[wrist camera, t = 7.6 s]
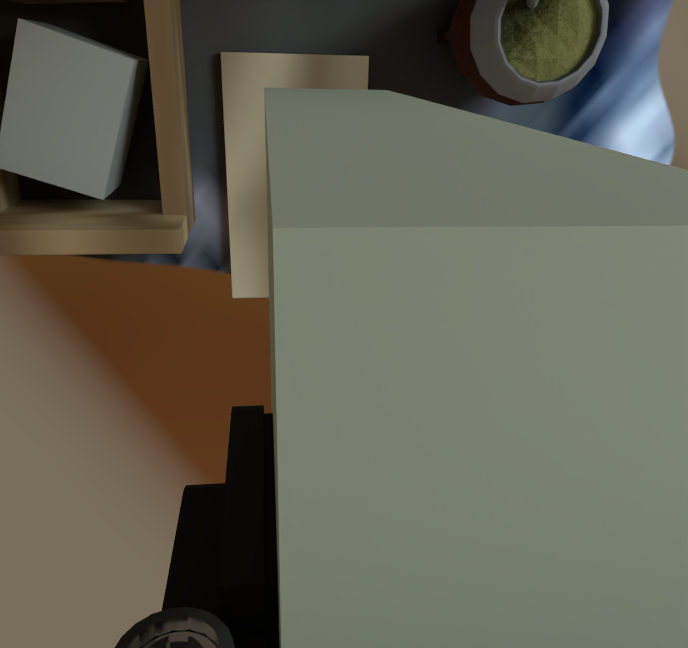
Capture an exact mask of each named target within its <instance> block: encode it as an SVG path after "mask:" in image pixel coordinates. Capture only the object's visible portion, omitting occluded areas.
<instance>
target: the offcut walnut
mask: <svg viewBox="0 0 688 648" xmlns="http://www.w3.org/2000/svg"><path fill="white" fill-rule="evenodd" d="M10 1H14V2H19V3H23V4H72V3H130V0H10Z"/></svg>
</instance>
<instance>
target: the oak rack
mask: <svg viewBox="0 0 688 648" xmlns="http://www.w3.org/2000/svg"><path fill="white" fill-rule="evenodd" d="M144 9H145V20H146V31H147V42H148V54H149V65H150V76H151V87H152V98H153V109H154V120H155V132H156V143H157V154H158V165H159V176H160V187H161V199H162V200H22V199H21V194H20V188H19V183H18V177H17V173H14V172H10V171H7V170H4V169H0V255H71V254H166V253H182V251H183V248H184V246H185V243H186V241H187V238H188V236H189V234H190V231H191V229H192V226H193V224H194V221H195V209H194V195H193V180H192V166H191V151H190V137H189V123H188V108H187V94H186V79H185V65H184V51H183V36H182V22H181V7H180V0H144ZM4 105H5V104H4V98H3V92H2V87H1V81H0V131H1V125H2V118H3V112H4Z"/></svg>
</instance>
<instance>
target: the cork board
mask: <svg viewBox="0 0 688 648" xmlns="http://www.w3.org/2000/svg"><path fill="white" fill-rule="evenodd" d="M221 69H222V90H223V111H224V132H225V152H226V173H227V194H228V215H229V236H230V256H231V277H232V296H233V298H260V297H261V298H263V297H269V270H268V228H267V185H266V143H265V100H264V88H308V89H355V90H368V69H369V56H349V55H314V54H278V53H242V52H221Z"/></svg>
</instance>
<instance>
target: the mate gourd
mask: <svg viewBox="0 0 688 648" xmlns="http://www.w3.org/2000/svg"><path fill="white" fill-rule="evenodd" d="M608 12H609V5H608V1H607V0H460V1H459V3H458V6H457V8H456V10H455V13H454V15H453V18H452V22H451V25H450V28H445V29H439V30H438V33H437V35H438V43H439V44H450V45H451V48H452V52H453V54H454V56H455V58H456V61H457V63H458V65H459V67H460V70H461V72H462V75H463V76H464V77H465V78H466V79H467V80H468V81H469V82H470V83H471V84H472V85H473V86H474V87H475V88H476V89H477V90H478V91H479V92H480V93H481V94H482V95H483V96H485V97H487V98H490V99H493V100H496V101H498V102H501V103H504V104H507V105H509V106H512V105H524V104H535V103H543V102H545V101H549V100H551V99H553V98H555V97H557V96H559V95H561V94H562V93H564V92H566V91H568V90H570V89H572V88H574V87H575V86H576V85H577V84H578V82H579V81H580V80H581V79H582V78H583V77H584V76H585V75H586V74H587V72H588V71H589V70H590V69H591V68H592V67H593V66H594V64H595V62H596V60H597V57H598V55H599V53H600V50H601V48H602V46H603V43H604V41H605V39H606V36H607V24H608Z"/></svg>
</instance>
